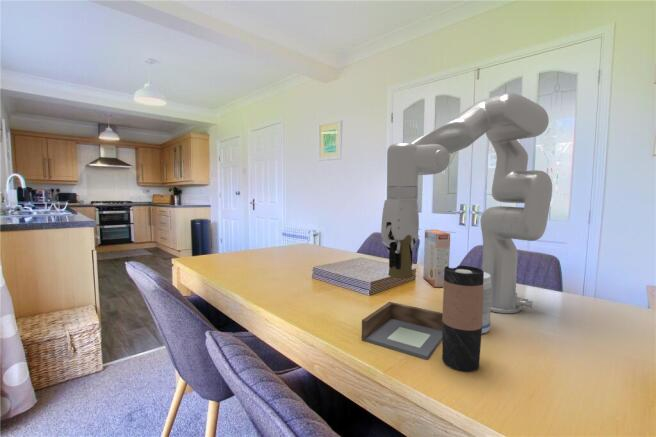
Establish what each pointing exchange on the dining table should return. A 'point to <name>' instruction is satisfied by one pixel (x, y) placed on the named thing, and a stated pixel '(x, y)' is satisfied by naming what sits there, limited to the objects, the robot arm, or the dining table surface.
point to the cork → (403, 260)
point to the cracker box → (436, 256)
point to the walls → (400, 317)
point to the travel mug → (462, 317)
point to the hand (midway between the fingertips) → (400, 266)
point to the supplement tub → (486, 303)
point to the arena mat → (407, 338)
